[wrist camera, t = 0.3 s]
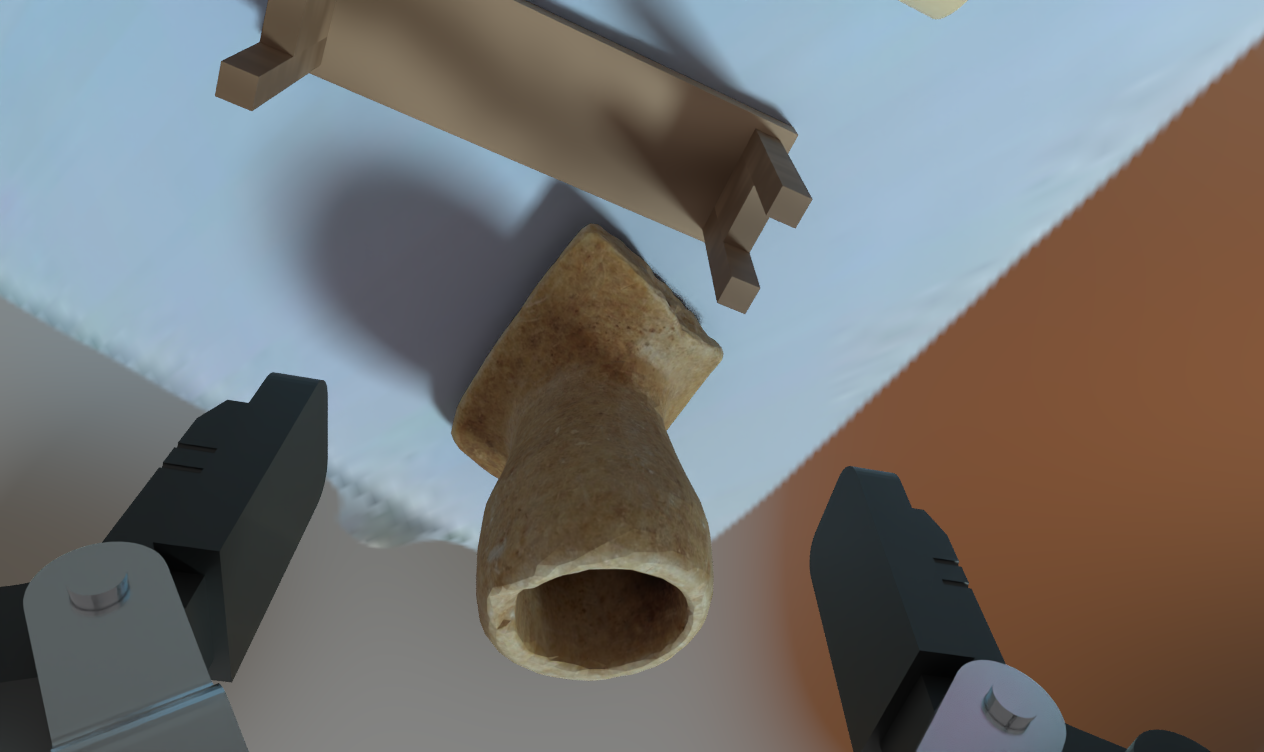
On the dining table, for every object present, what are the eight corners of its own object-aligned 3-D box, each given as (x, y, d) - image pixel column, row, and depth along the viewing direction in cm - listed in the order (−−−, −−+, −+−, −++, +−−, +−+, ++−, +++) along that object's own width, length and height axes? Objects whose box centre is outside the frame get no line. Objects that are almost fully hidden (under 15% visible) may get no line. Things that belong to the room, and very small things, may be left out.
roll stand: (316, -99, 32) (226, -87, 25) (793, 127, 36) (834, 193, 29) (284, 51, 35) (193, 102, 27) (729, 243, 39) (752, 330, 32)
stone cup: (609, 519, 48) (603, 754, 36) (429, 421, 45) (349, 645, 32) (782, 335, 42) (850, 541, 29) (589, 202, 38) (569, 373, 26)
